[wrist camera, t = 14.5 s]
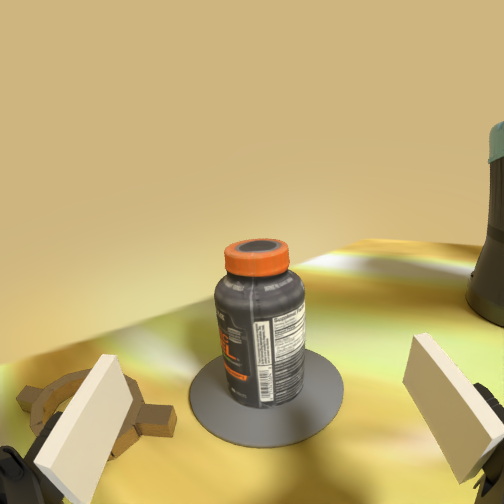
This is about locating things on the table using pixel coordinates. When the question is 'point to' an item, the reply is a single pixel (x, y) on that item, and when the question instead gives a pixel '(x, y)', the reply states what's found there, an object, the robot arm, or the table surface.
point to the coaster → (267, 419)
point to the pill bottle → (261, 323)
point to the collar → (135, 423)
